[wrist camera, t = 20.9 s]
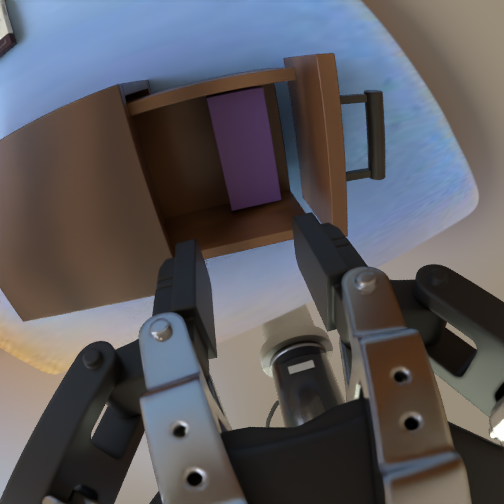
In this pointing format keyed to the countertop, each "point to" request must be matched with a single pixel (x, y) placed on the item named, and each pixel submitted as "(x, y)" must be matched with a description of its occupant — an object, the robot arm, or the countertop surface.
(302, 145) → the drawer
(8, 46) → the chocolate bar
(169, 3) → the countertop surface
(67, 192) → the cabinet
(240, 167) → the purple rectangular block
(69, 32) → the countertop surface
